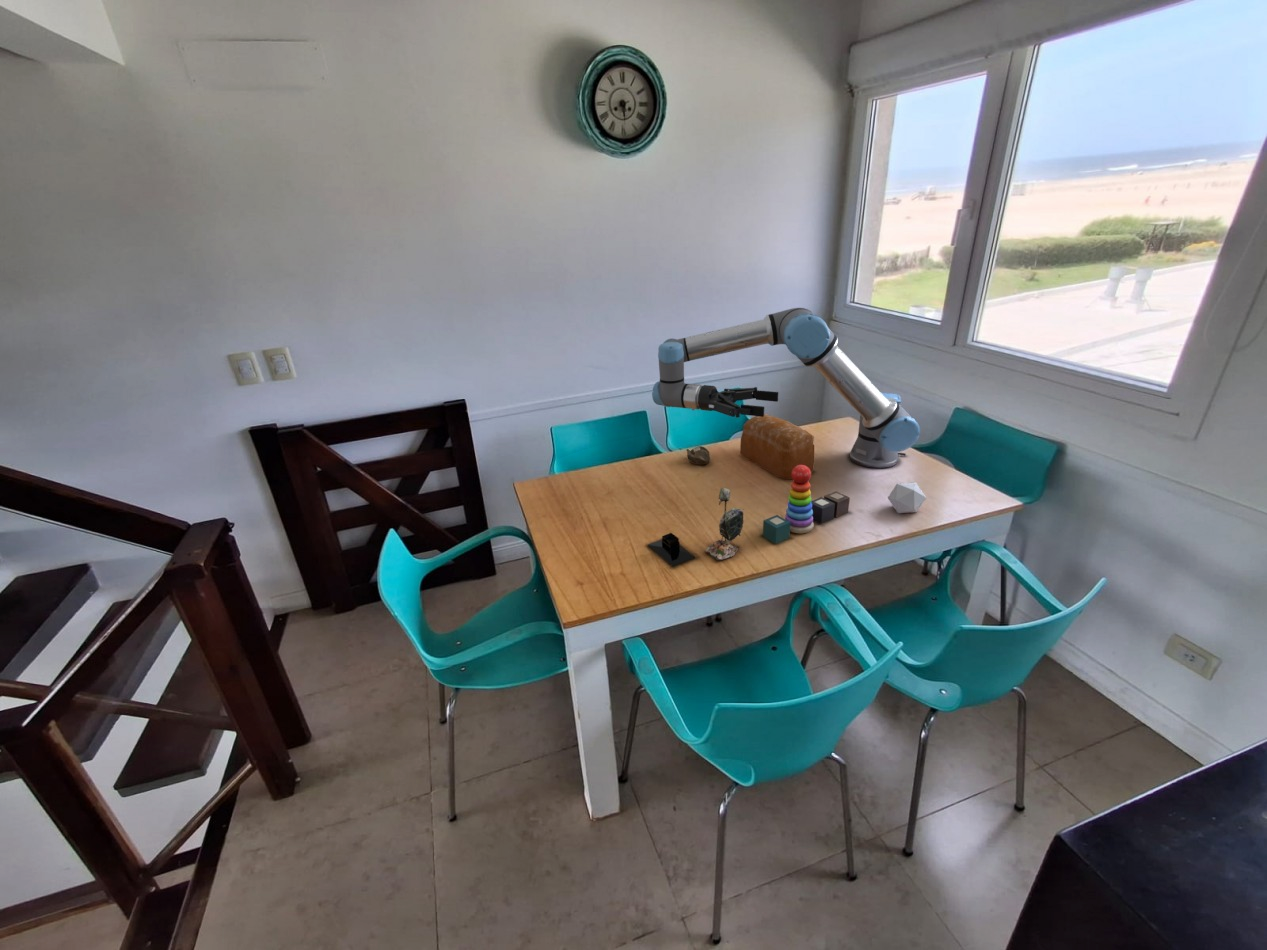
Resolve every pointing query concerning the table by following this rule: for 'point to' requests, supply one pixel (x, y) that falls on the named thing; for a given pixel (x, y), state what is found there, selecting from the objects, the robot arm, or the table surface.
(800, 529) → the stacking toy
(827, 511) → the charcoal block
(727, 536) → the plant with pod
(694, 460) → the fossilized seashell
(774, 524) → the teal block
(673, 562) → the build plate
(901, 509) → the die
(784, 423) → the bread
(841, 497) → the walnut block
